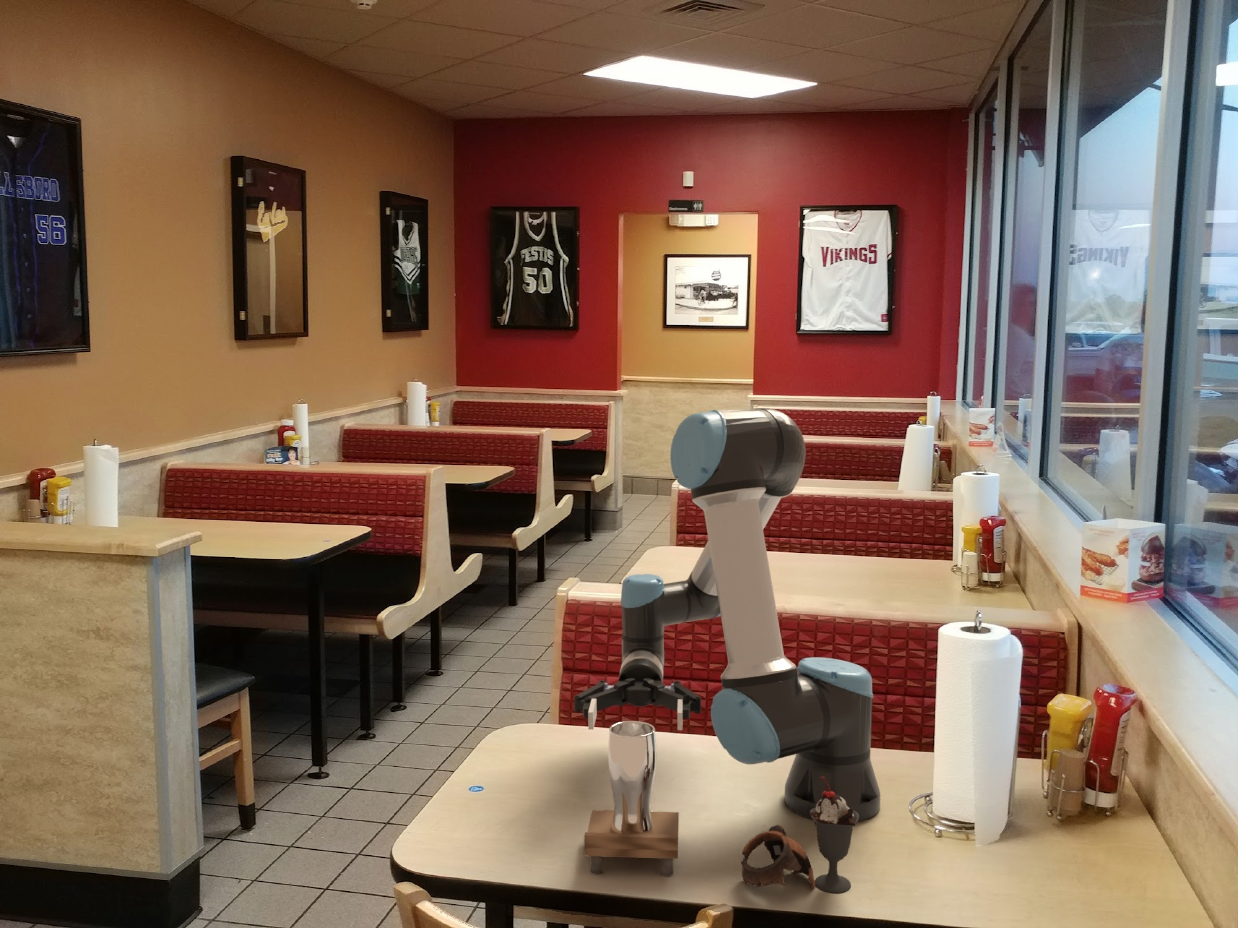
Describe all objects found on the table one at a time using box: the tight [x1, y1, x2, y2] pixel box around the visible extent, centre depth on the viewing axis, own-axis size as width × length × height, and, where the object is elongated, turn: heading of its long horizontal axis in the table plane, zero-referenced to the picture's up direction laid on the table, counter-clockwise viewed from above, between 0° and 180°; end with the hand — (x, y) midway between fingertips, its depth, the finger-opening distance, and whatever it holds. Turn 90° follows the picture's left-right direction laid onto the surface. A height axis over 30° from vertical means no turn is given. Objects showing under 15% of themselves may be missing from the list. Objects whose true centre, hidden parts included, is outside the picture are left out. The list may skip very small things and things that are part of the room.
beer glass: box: [607, 720, 658, 834], centre depth 159 cm, size 7×7×15 cm
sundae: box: [809, 776, 859, 894], centre depth 152 cm, size 7×7×15 cm
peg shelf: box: [583, 809, 680, 877], centre depth 160 cm, size 13×12×6 cm
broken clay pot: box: [740, 824, 816, 891], centre depth 153 cm, size 12×10×8 cm
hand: (635, 721), depth 168 cm, fingers open, 13 cm apart
